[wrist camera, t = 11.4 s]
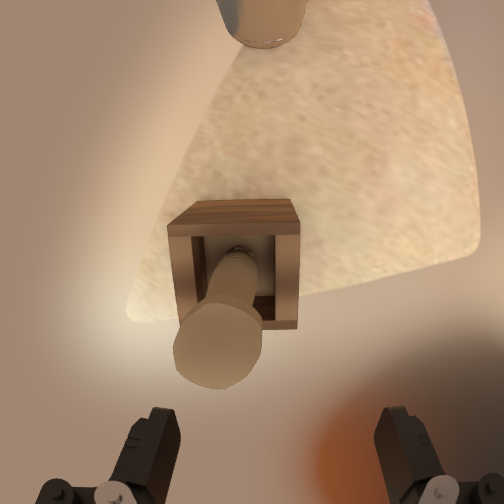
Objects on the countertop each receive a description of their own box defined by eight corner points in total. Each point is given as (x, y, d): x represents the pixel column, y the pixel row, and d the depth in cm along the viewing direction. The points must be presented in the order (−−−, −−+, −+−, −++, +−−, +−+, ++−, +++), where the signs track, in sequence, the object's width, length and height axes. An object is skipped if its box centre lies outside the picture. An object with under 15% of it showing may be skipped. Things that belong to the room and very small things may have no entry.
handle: (276, 242, 31) (279, 325, 16) (248, 295, 33) (232, 398, 18) (231, 221, 30) (195, 289, 16) (206, 276, 32) (162, 369, 18)
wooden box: (197, 201, 37) (166, 225, 25) (289, 199, 36) (300, 222, 25) (203, 278, 40) (180, 328, 29) (289, 277, 39) (297, 329, 28)
